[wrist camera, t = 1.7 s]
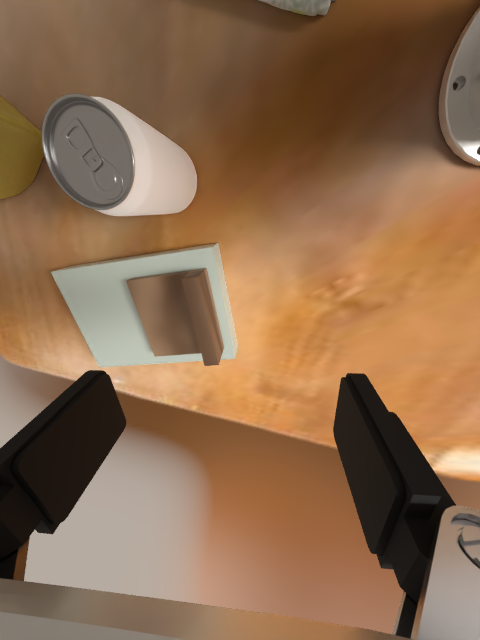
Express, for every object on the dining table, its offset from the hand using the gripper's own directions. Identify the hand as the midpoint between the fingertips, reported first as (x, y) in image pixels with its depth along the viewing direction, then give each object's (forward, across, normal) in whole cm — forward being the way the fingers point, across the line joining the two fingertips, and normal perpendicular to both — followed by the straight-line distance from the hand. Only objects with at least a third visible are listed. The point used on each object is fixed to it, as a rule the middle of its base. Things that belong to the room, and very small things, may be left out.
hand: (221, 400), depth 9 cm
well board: (+21, +13, +4) cm, 25 cm away
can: (+20, +8, -10) cm, 24 cm away
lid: (+17, +8, +4) cm, 19 cm away
